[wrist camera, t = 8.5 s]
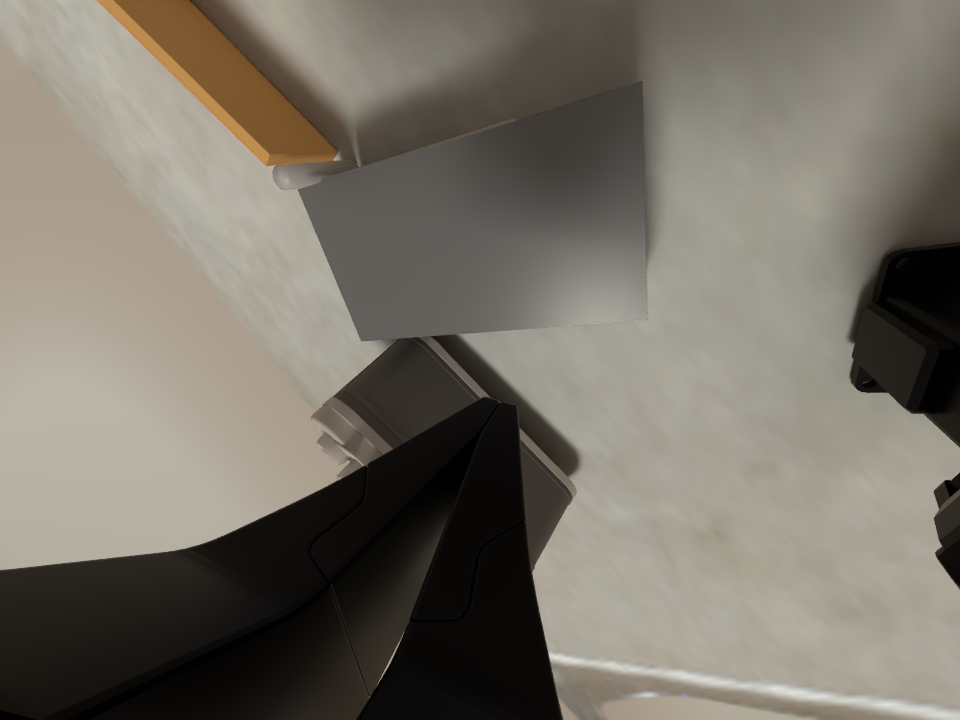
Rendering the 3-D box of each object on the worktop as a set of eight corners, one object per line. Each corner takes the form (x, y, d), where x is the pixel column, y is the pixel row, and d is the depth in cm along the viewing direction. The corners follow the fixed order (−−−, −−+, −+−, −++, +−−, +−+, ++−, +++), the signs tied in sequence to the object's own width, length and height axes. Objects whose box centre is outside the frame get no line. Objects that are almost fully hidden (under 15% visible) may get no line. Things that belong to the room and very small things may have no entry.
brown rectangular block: (342, 140, 19) (274, 140, 15) (332, 160, 20) (265, 165, 16) (171, -37, 18) (50, -83, 14) (168, -7, 18) (52, -44, 15)
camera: (424, 311, 22) (274, 439, 17) (597, 491, 24) (511, 658, 18) (390, 355, 30) (282, 452, 24) (521, 487, 31) (446, 603, 26)
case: (636, 63, 14) (640, 33, 10) (642, 279, 18) (647, 319, 14) (340, 162, 20) (268, 168, 16) (392, 307, 24) (345, 342, 20)
